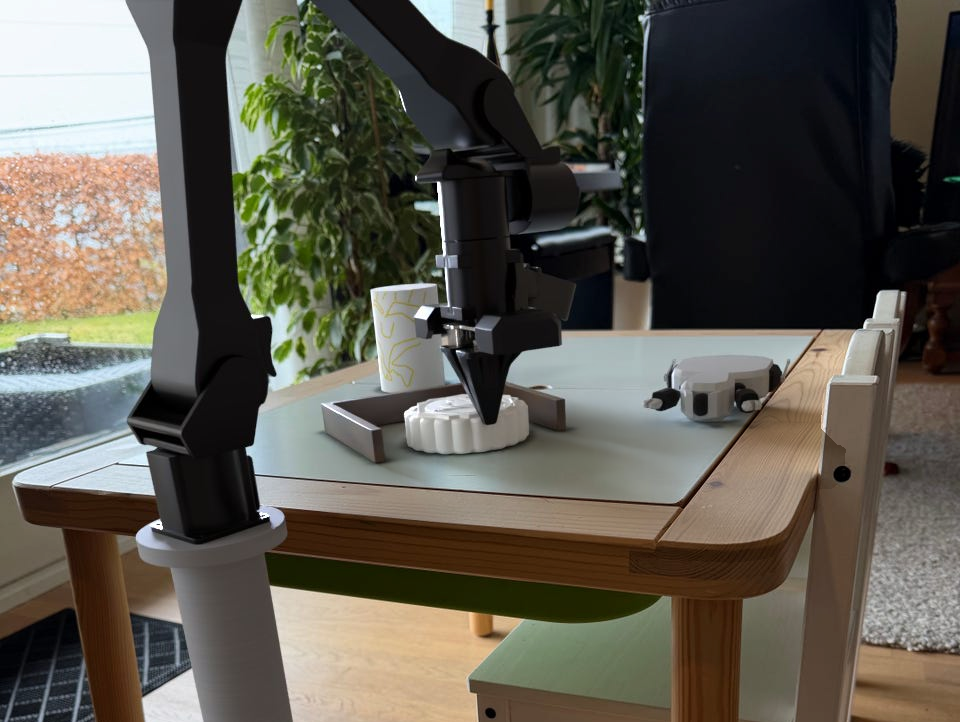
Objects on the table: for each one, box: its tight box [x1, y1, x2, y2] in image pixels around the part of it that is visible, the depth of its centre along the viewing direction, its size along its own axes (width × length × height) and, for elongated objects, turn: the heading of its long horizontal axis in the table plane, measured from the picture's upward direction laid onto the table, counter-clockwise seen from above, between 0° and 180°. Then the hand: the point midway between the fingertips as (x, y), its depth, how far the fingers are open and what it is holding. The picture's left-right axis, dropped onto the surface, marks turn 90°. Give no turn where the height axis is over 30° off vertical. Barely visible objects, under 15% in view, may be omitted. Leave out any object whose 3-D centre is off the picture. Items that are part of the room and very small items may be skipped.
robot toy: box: [642, 354, 791, 423], centre depth 99 cm, size 12×4×15 cm
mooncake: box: [404, 394, 530, 455], centre depth 95 cm, size 12×12×4 cm
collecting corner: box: [320, 381, 567, 464], centre depth 100 cm, size 16×20×3 cm
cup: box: [370, 283, 446, 394], centre depth 122 cm, size 8×8×12 cm
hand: (489, 424), depth 89 cm, fingers closed
